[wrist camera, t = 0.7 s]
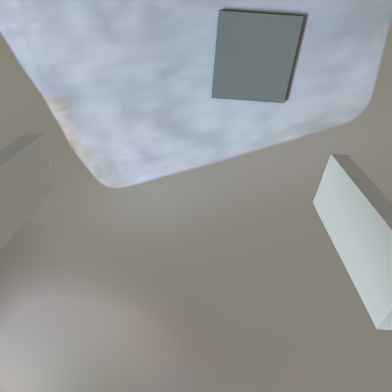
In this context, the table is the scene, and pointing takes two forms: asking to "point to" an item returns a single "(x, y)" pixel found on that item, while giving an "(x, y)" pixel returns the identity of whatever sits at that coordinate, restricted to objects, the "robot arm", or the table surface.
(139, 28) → the table surface
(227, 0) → the table surface
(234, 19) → the coaster
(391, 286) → the robot arm
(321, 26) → the table surface
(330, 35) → the table surface
